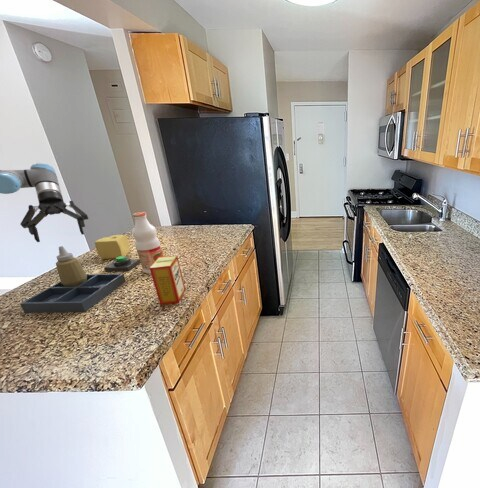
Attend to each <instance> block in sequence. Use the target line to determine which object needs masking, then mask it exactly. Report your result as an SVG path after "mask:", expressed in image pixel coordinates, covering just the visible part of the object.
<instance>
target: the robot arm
mask: <svg viewBox="0 0 480 488" xmlns="http://www.w3.org/2000/svg"><path fill="white" fill-rule="evenodd" d="M25 188H27V189H28V188H35V192H36V193H35V194H36V195H37V200H38V205H32V204H29V205H28V210H27V212H26V214H25V215H24V216H23V218H22V220H21V222H20V226H21V227H22V228H23V229H28V232H29V234H30V235H31V236H33V237H34V240H35V241H36V243H40V242H41V239H40V236H39V232H38V228H37V225H38V224H39V223H40V222H41V221H43V219H44V218H45V217H46V218H47V216H48V215H49V216H51V215H53V216H54V215H60V214H64V215H67V216H69V217H71V218H73V219H75V220H76V222H77V226H78V228H79V232H80V234H81V235H82V236H83V235H85V231H84V229H83V228H85V227H86V224H85V220H89V216H88V214H86V212H84V211H83V210H81V208H80V207H78V206H77V205H76V204H75V203H74V201H73V200H69V202H65V201H64V197H63V195H62V190H61V186H60V183H59V180H58V176H57V173H56V170H55V168H54V167H53V166H51V165H50V164H48V163H41V162H37V163H35V164H32V165H31V166H30V168H29V169H0V194H1V195H9V194H10V195H11V194H14V193H16V192H17V193H18V191H19V190H20V189H25ZM67 207H69V208H70V209H72V210H74V211H75V212H76V213H75V212H73V211H72V210H69V209H67ZM38 210H39V211H38ZM37 211H38V213H37V214H36V212H37ZM35 214H36V215H35Z"/></svg>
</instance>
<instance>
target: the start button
mask: <svg viewBox="0 0 480 488" xmlns="http://www.w3.org/2000/svg"><path fill="white" fill-rule="evenodd" d="M125 257H126V255H124V256H119V257H117V258H115V259H116V260H117V262H121V261H124V260H126V258H125Z"/></svg>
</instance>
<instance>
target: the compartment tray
mask: <svg viewBox="0 0 480 488" xmlns="http://www.w3.org/2000/svg"><path fill="white" fill-rule="evenodd" d="M86 275H87V281H85V282H84V283H82V284H80V285H79V286H77V287H65V286H64V285H63V284H61V281H58V282H56V283H54V284H53V285H51V286H49V287H47V288H46V289H44V290H42V291H40V292H38V293H36V294H35V295H33V296H31V297H29V298H27V299H26V300H24V301H22V302H20V303H19V305H20V307H21V310H22V311H23V313H24V314H35V313H36V314H37V313H38V314H40V313H43V314H44V313H85V312H87V311H88V310H90V309H91V308H93V307H94V306H96V304H98V303H99V302H101V301H102V300H103V299H105V298H106V297H108V295H109V296H110V294H111V293H113V292H114V291H116V290H117V289H118V288H120V287H121V286H122V285H123V284H125V283H126V282H127V280H126V278H125V274H124V273H86Z"/></svg>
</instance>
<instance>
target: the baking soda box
mask: <svg viewBox="0 0 480 488" xmlns="http://www.w3.org/2000/svg"><path fill="white" fill-rule="evenodd" d="M150 271H151V274H150V275H151V277H152V282H153V285H154V288H155V292H156V296H157V298H158V303H159V306H163V305H171V304H179V303H180V301H181V299H182V298H183V296H184V294H185V292H186V286H185V285H186V284H185V281H184V277H183V273H182V269H181V264H180V260H179V256H178V255H168V256H167V255H166V256H164V257H159V258H158V259H157V260H156V261H155V263H154V264H153V265H152V266H151V267H150Z"/></svg>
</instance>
